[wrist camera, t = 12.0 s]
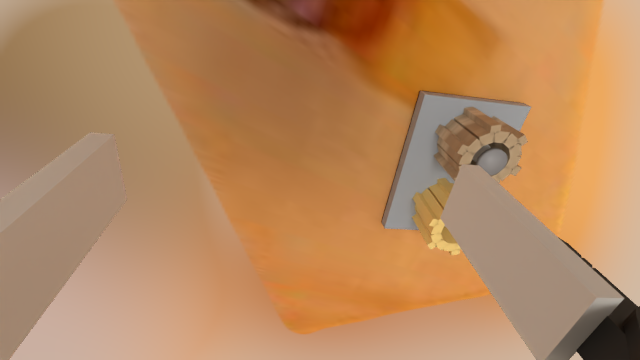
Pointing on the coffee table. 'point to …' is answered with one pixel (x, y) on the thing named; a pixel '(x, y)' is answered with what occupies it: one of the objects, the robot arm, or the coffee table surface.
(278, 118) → the coffee table surface
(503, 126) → the gear
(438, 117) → the gear board
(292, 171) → the coffee table surface
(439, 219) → the ochre gear
